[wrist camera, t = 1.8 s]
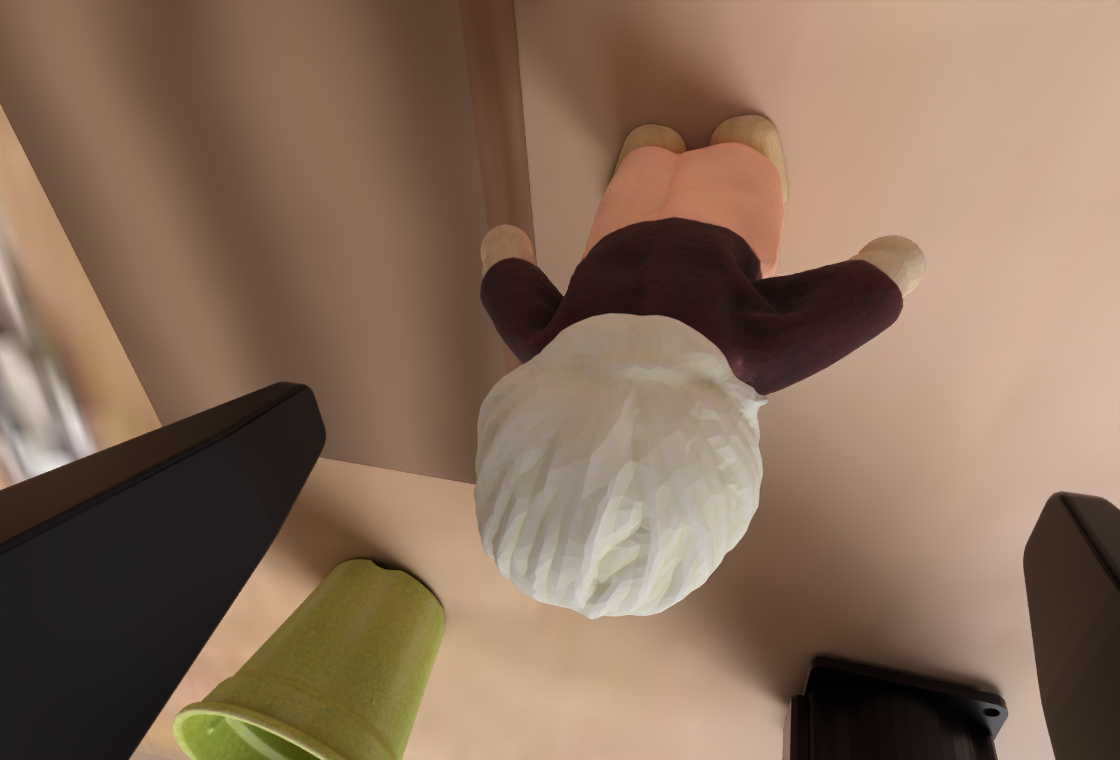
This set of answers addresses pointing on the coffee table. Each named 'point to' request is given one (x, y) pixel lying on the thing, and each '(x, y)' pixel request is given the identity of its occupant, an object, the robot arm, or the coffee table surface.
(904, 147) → the coffee table surface
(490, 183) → the walnut base
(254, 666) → the plant pot
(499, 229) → the grandmother figurine
